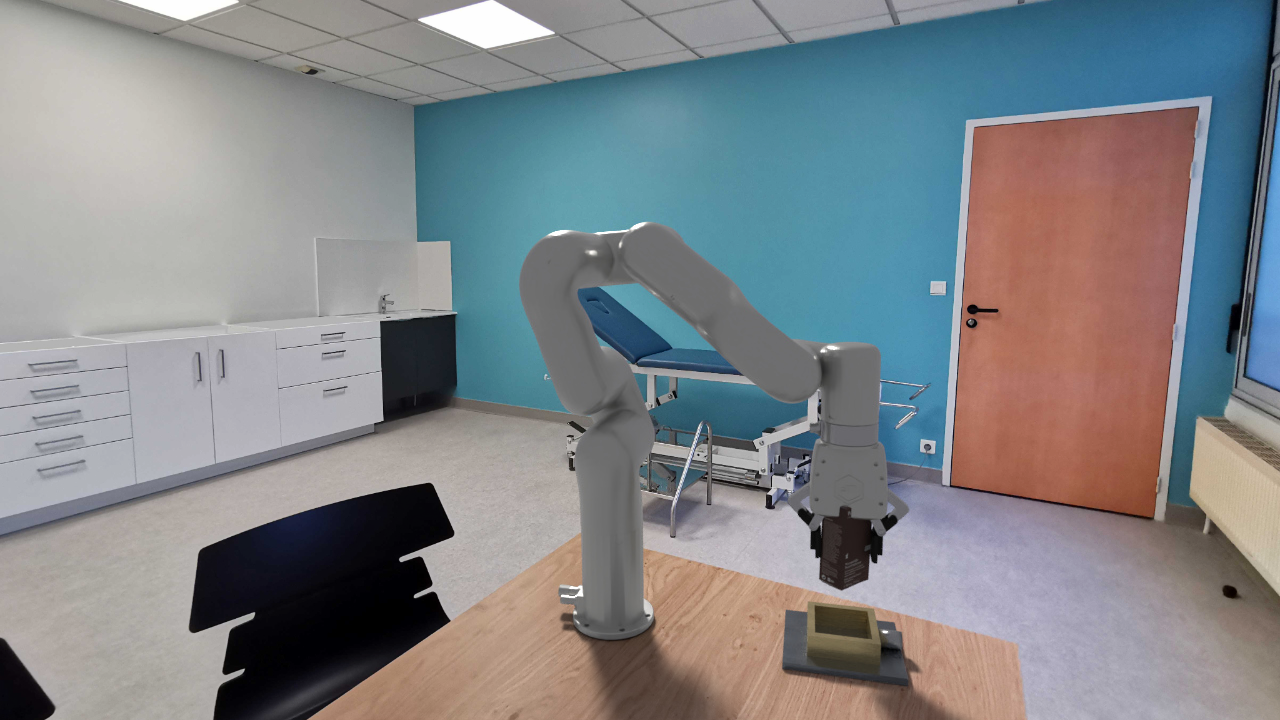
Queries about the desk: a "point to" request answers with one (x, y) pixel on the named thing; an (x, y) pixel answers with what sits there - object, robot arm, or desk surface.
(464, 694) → the desk surface
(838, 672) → the square socket base
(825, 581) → the box
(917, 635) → the desk surface
